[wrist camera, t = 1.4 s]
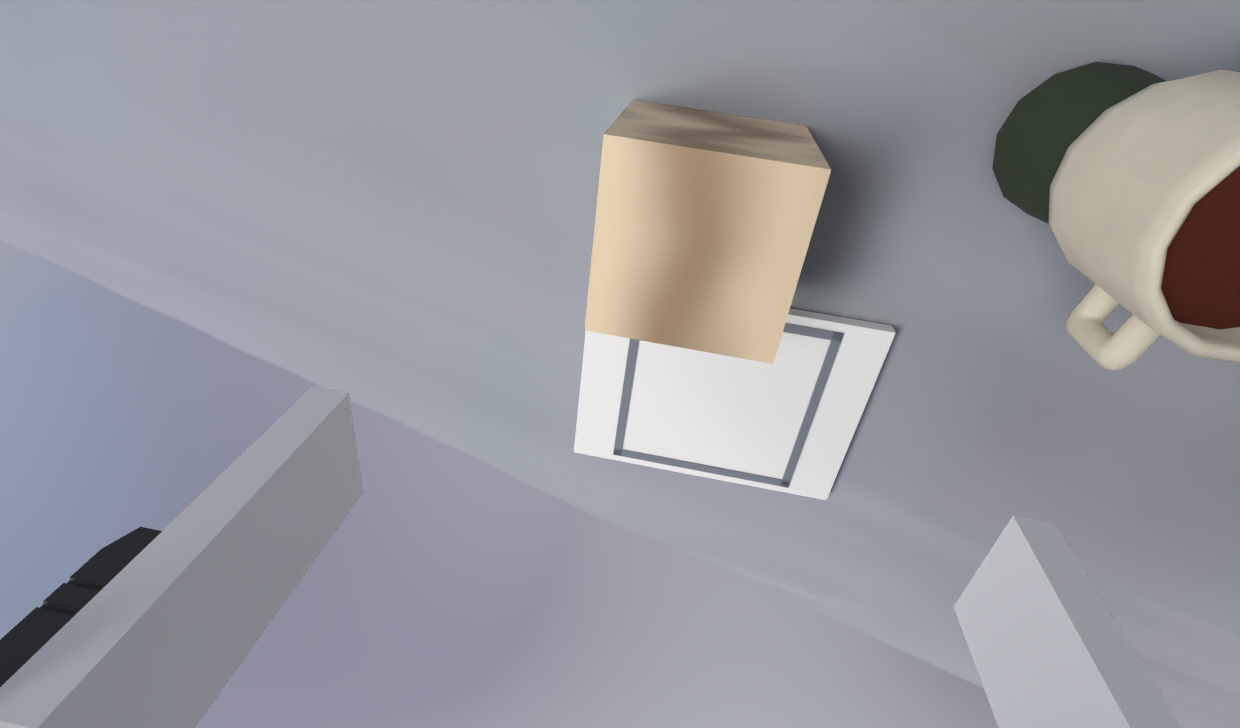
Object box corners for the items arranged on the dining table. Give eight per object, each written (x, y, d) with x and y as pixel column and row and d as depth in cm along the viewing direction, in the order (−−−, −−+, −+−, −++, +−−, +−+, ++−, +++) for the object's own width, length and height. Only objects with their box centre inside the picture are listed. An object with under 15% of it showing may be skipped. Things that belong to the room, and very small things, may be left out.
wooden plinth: (806, 125, 28) (831, 169, 21) (763, 284, 32) (773, 363, 25) (633, 99, 28) (603, 134, 22) (614, 259, 33) (584, 330, 26)
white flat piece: (892, 325, 32) (896, 333, 31) (824, 491, 38) (826, 501, 38) (593, 274, 33) (590, 281, 32) (576, 444, 39) (573, 453, 39)
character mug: (1055, 277, 29) (1248, 447, 19) (919, 225, 29) (1035, 368, 18) (1249, 34, 24) (1699, 74, 13) (1082, -33, 23) (1397, -52, 12)
